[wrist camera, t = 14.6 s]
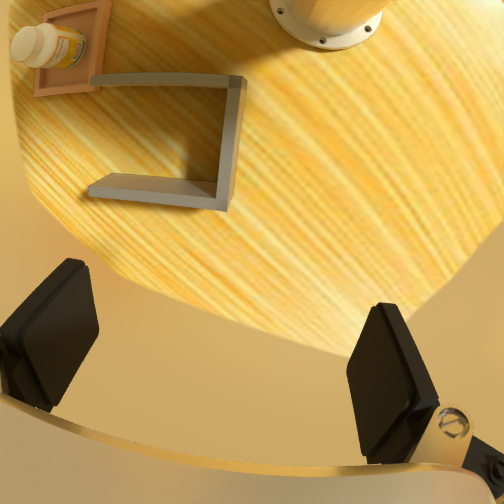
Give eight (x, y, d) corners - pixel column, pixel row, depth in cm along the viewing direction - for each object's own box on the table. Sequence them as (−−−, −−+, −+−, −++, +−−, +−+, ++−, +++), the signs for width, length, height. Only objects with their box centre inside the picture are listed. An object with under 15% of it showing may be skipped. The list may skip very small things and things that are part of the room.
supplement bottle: (92, 55, 29) (44, 50, 21) (59, 76, 30) (10, 77, 22) (82, 22, 27) (36, 10, 18) (51, 43, 28) (2, 39, 19)
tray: (50, 15, 26) (43, 13, 25) (112, 2, 26) (105, -2, 25) (41, 96, 32) (33, 97, 30) (100, 90, 32) (93, 91, 30)
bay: (115, 76, 31) (90, 75, 26) (247, 80, 31) (242, 76, 26) (111, 182, 37) (88, 196, 32) (233, 194, 37) (226, 211, 32)
